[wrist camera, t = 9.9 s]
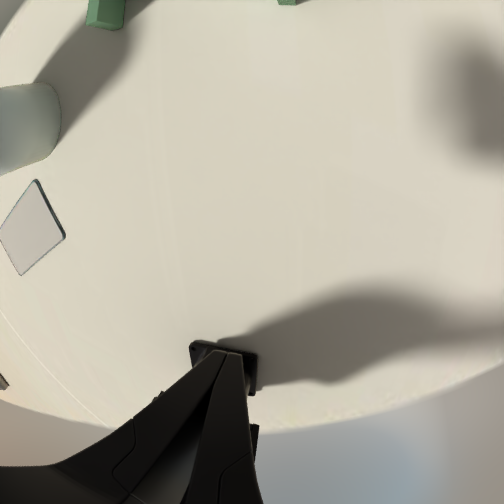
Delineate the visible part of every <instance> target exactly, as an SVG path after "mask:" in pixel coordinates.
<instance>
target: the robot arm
mask: <svg viewBox="0 0 504 504" xmlns="http://www.w3.org/2000/svg"><path fill="white" fill-rule="evenodd" d="M189 352H190V358H191V363H192V369H191V370H190V371H189V372H188V373H186V374H185V375H184V376H183V377H182V378H181V379H179V380H178V381H177V382H176V383H175V384H173V385H172V386H171V387H170V388H168V389H167V390H166V391H165V392H164V391H161V392H160V394H159V395H158V397H154V399H153V401H152V402H151V403H150V404H149V405H148V406H146V407H145V408H144V409H143V410H141V411H140V412H139V413H138V414H136V415H135V416H134V417H133V419H130V420H128V421H127V422H126V423H125V424H123V425H122V426H121V427H119V428H118V429H117V430H115V431H114V432H112V433H111V434H110V435H108V436H106V437H105V438H103V439H101V440H100V441H98V442H97V443H95V444H93V445H91V446H89V447H88V448H86V449H84V450H82V451H80V452H78V453H76V454H75V455H73V456H71V457H69V458H67V459H65V460H63V461H61V462H58V463H55V464H51V465H44V466H22V467H20V466H18V467H17V466H10V467H9V466H0V504H263V500H262V497H261V493H260V490H259V486H258V482H257V478H256V471H255V465H254V463H255V456H256V448H257V440H258V433H259V425H257V424H250V423H249V416H248V407H247V396H255V394H256V385H257V370H258V356H257V355H256V354H253V353H247V352H241V351H235V350H230V349H225V348H219V347H214V346H209V345H204V344H200V343H195V342H192V343H191V344H190V345H189ZM251 358H252V359H251Z"/></svg>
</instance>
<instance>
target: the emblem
mask: <svg viewBox="0 0 504 504" xmlns="http://www.w3.org/2000/svg"><path fill="white" fill-rule="evenodd" d="M7 387H8V385H7V383H6V382H5V380H4V379H3V377H2V376H1V375H0V390H6V388H7Z"/></svg>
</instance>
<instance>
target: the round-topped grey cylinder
mask: <svg viewBox="0 0 504 504" xmlns="http://www.w3.org/2000/svg"><path fill="white" fill-rule="evenodd" d="M60 127H61V109H60V103H59V99H58V96H57V94H56V92H55V90H54V89H53V88H52V87H51V86H50V85H49V84H47V83H43V82H40V83H30V84H21V85H13V86H6V87H0V176H2V175H5V174H7V173H9V172H12V171H14V170H17V169H19V168H22V167H24V166H27V165H30V164H32V163H35V162H38V161H41V160H43V159H45V158H47V157H48V156H49V155H50V154H51V152H52V151H53V149H54V147H55V145H56V143H57V140H58V137H59V133H60Z"/></svg>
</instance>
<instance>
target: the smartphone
mask: <svg viewBox="0 0 504 504" xmlns="http://www.w3.org/2000/svg"><path fill="white" fill-rule="evenodd" d="M64 239H65V232H64V230H63V229H62V227H61V225H60V223H59V221H58V219H57V217H56V216H55V214H54V212H53V210H52V208H51V206H50V204H49V202H48V200H47V198H46V196H45V194H44V192H43V190H42V188H41V186H40V183H39V182H38V180H33V181H32V183H31V184H30V185H29V186H28V188H27V189H26V191H25V192H24V193H23V195H22V196H21V197H20V199H19V200H18V202H17V203H16V205H15V206H14V208H13V209H12V210H11V212H10V213H9V215H8V217H7V218H6V220H5V221H4V223H3V224H2V226H1V228H0V241H1V243H2V245H3V247H4V249H5V250H6V252H7V254H8V256H9V258H10V260H11V261H12V263H13V265H14V267H15V268H16V270H17V272H18V273H19V275H20V276H22V275H23V274H24V273H25V272H27V271H28V270H29V269H30V268H31V267H32V266H33V265H34V264H35V263H37V262H38V261H39V260H40V259H41V258H42V257H43V256H45V255H46V254H47V253H48V252H49V251H51V250H52V249H53V248H54V247H55V246H57V245H58V244H59V243H60V242H61V241H63V240H64Z"/></svg>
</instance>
